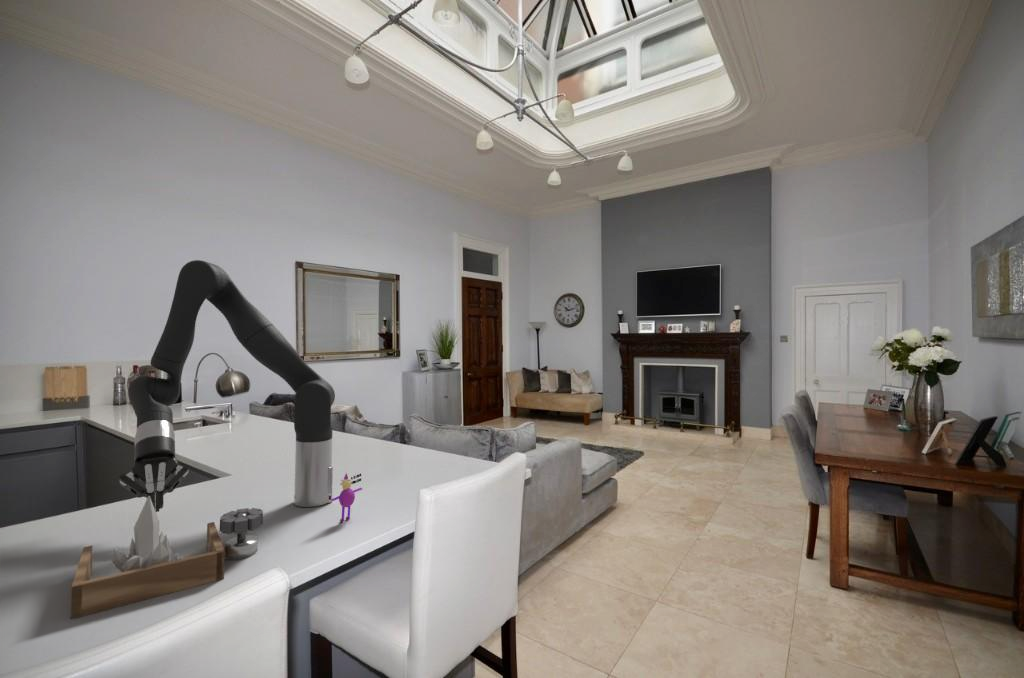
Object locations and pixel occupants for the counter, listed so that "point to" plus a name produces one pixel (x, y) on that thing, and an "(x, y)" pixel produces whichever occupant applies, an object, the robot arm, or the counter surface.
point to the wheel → (241, 521)
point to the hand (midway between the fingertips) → (155, 510)
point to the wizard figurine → (346, 494)
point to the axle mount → (241, 545)
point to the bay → (144, 579)
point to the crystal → (145, 543)
